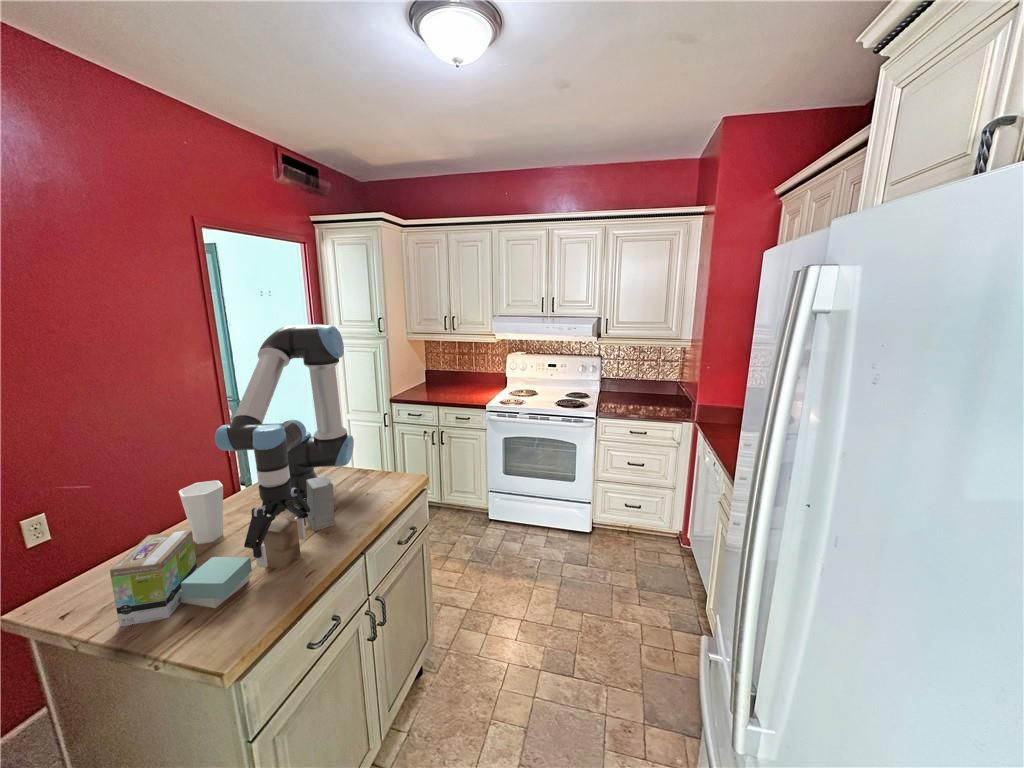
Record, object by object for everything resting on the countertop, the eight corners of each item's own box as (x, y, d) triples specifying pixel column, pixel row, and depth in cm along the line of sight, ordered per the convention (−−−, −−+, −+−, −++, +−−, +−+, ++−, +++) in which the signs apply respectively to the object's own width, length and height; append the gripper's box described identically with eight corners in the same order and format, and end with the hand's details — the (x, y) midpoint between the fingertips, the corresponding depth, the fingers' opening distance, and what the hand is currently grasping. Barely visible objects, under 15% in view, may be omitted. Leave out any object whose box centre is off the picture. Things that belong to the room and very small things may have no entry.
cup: (212, 527, 132) (204, 479, 129) (237, 530, 130) (230, 481, 127) (178, 546, 121) (169, 494, 118) (205, 550, 119) (197, 498, 116)
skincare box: (307, 523, 134) (302, 479, 131) (329, 516, 139) (325, 474, 136) (314, 534, 128) (310, 488, 125) (337, 526, 132) (333, 482, 129)
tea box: (171, 619, 93) (160, 562, 90) (118, 628, 90) (105, 570, 87) (200, 578, 107) (192, 528, 104) (155, 585, 104) (146, 534, 102)
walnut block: (284, 555, 117) (279, 518, 115) (301, 558, 115) (296, 521, 113) (266, 568, 111) (261, 529, 109) (284, 571, 110) (279, 532, 107)
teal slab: (214, 570, 105) (212, 557, 104) (252, 570, 105) (250, 557, 104) (183, 597, 95) (180, 583, 94) (224, 598, 95) (222, 583, 94)
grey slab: (218, 578, 108) (216, 565, 107) (250, 583, 106) (248, 570, 105) (181, 605, 98) (179, 591, 97) (215, 611, 96) (213, 596, 95)
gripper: (298, 463, 121) (305, 526, 125) (220, 500, 98) (231, 577, 102) (318, 465, 119) (325, 530, 123) (244, 504, 96) (255, 582, 100)
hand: (282, 551), depth 113 cm, fingers open, 13 cm apart
